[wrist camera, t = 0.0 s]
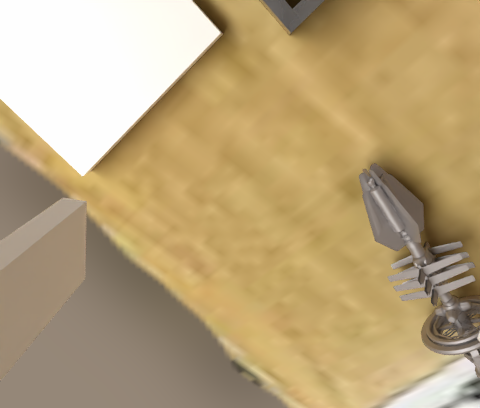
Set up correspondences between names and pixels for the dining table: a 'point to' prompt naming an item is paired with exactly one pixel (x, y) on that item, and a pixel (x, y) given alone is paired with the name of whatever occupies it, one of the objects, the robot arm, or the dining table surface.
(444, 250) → the grey knobbed rod
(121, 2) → the white board
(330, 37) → the dining table surface
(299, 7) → the grey compartment rack
